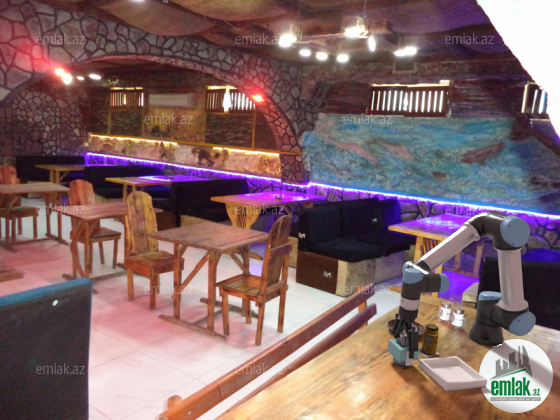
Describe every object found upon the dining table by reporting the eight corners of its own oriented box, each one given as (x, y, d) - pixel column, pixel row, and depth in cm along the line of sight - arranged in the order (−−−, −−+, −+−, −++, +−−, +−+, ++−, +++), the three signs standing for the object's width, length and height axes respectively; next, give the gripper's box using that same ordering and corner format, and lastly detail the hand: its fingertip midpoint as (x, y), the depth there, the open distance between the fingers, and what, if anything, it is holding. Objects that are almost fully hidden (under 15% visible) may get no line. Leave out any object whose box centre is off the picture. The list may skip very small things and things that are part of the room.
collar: (406, 349, 187) (407, 338, 186) (418, 360, 179) (420, 348, 178) (387, 350, 184) (388, 339, 184) (398, 361, 176) (400, 350, 175)
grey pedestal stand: (404, 358, 186) (408, 329, 184) (413, 367, 180) (417, 337, 177) (389, 359, 184) (393, 330, 182) (398, 368, 178) (402, 338, 175)
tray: (455, 362, 186) (456, 356, 186) (486, 387, 169) (487, 379, 169) (418, 366, 181) (419, 359, 180) (445, 391, 164) (447, 384, 163)
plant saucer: (381, 332, 210) (382, 326, 209) (393, 320, 225) (393, 315, 224) (419, 344, 201) (420, 338, 200) (428, 331, 216) (429, 325, 215)
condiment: (440, 354, 193) (444, 328, 191) (427, 358, 188) (431, 331, 186) (426, 346, 199) (430, 321, 197) (413, 350, 194) (417, 324, 192)
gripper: (386, 297, 187) (380, 346, 191) (416, 318, 166) (408, 374, 170) (402, 296, 189) (396, 345, 193) (433, 317, 169) (425, 372, 173)
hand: (402, 358), depth 182 cm, fingers closed on collar, 9 cm apart
